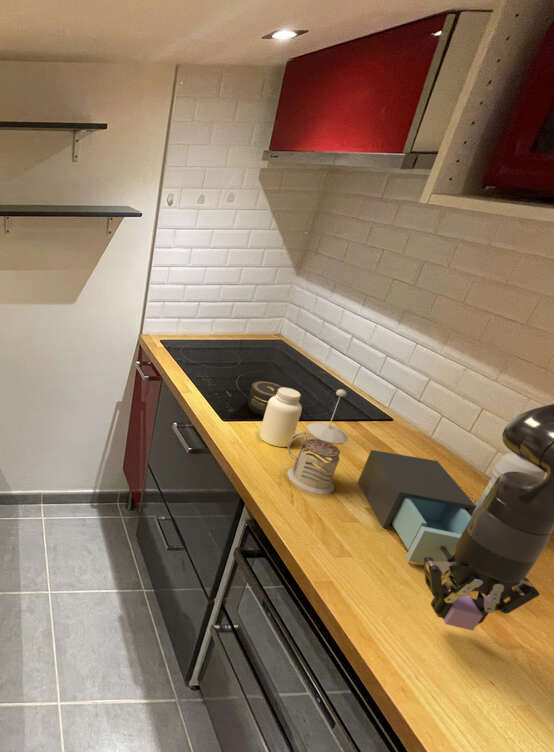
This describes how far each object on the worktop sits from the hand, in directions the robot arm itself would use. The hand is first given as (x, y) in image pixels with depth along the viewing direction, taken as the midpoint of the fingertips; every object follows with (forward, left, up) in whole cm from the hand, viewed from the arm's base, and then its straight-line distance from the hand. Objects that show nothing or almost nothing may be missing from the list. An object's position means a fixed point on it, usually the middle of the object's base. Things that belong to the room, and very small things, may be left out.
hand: (453, 616), depth 72 cm
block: (0, 0, 0) cm, 0 cm away
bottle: (-22, -32, -4) cm, 39 cm away
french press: (+12, -36, -4) cm, 38 cm away
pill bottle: (+16, -52, -4) cm, 54 cm away
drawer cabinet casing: (-6, -31, -4) cm, 32 cm away
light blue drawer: (-6, -18, -3) cm, 19 cm away
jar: (+16, -68, -4) cm, 70 cm away
